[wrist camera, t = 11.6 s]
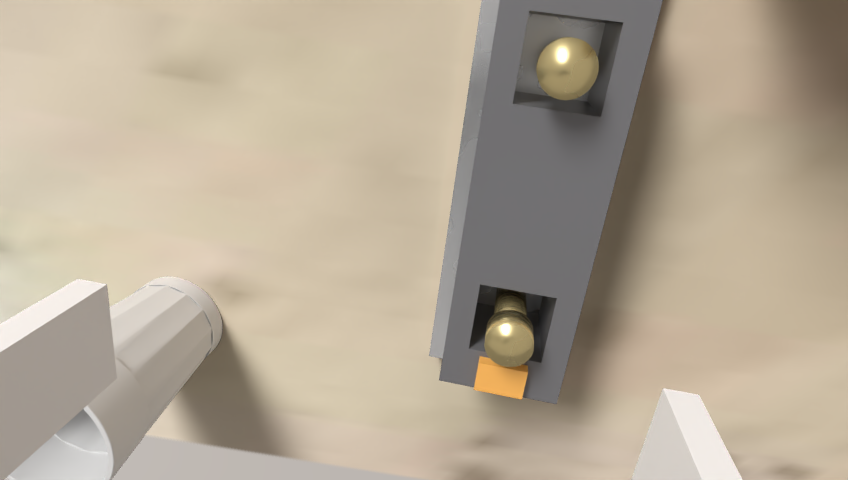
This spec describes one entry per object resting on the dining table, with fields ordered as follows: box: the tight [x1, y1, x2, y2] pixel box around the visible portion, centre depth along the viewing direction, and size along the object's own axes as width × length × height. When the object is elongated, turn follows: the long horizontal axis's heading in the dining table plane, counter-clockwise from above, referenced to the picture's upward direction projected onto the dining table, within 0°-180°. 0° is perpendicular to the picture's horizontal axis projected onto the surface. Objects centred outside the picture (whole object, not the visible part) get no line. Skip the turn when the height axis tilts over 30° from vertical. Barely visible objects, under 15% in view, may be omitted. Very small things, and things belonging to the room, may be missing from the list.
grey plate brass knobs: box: [429, 0, 605, 367], centre depth 26 cm, size 24×8×8 cm, turn 173°
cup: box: [6, 276, 223, 480], centre depth 32 cm, size 8×8×12 cm
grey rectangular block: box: [439, 0, 663, 404], centre depth 26 cm, size 20×6×6 cm, turn 173°
